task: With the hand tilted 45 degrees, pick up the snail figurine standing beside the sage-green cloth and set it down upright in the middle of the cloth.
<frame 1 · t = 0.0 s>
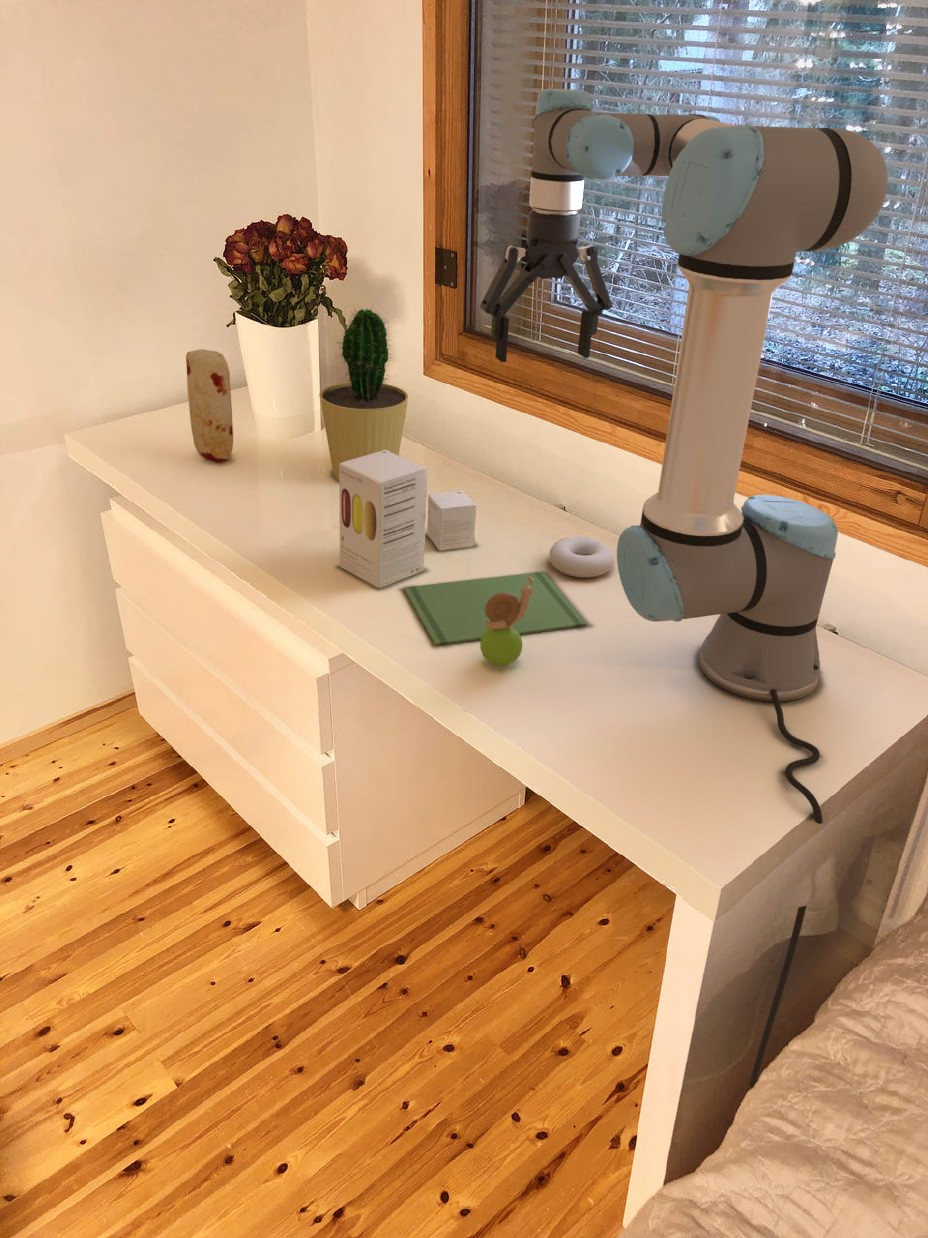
hand: (542, 357, 159), 28 cm above the table, tool pointing down, fingers open, 13 cm apart
potted cactus: (364, 474, 189), on the table
snail figurine: (503, 663, 136), on the table
donut: (580, 567, 161), on the table
supplement box: (381, 570, 157), on the table
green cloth: (493, 607, 148), on the table
food model: (215, 459, 192), on the table
product box: (450, 542, 167), on the table
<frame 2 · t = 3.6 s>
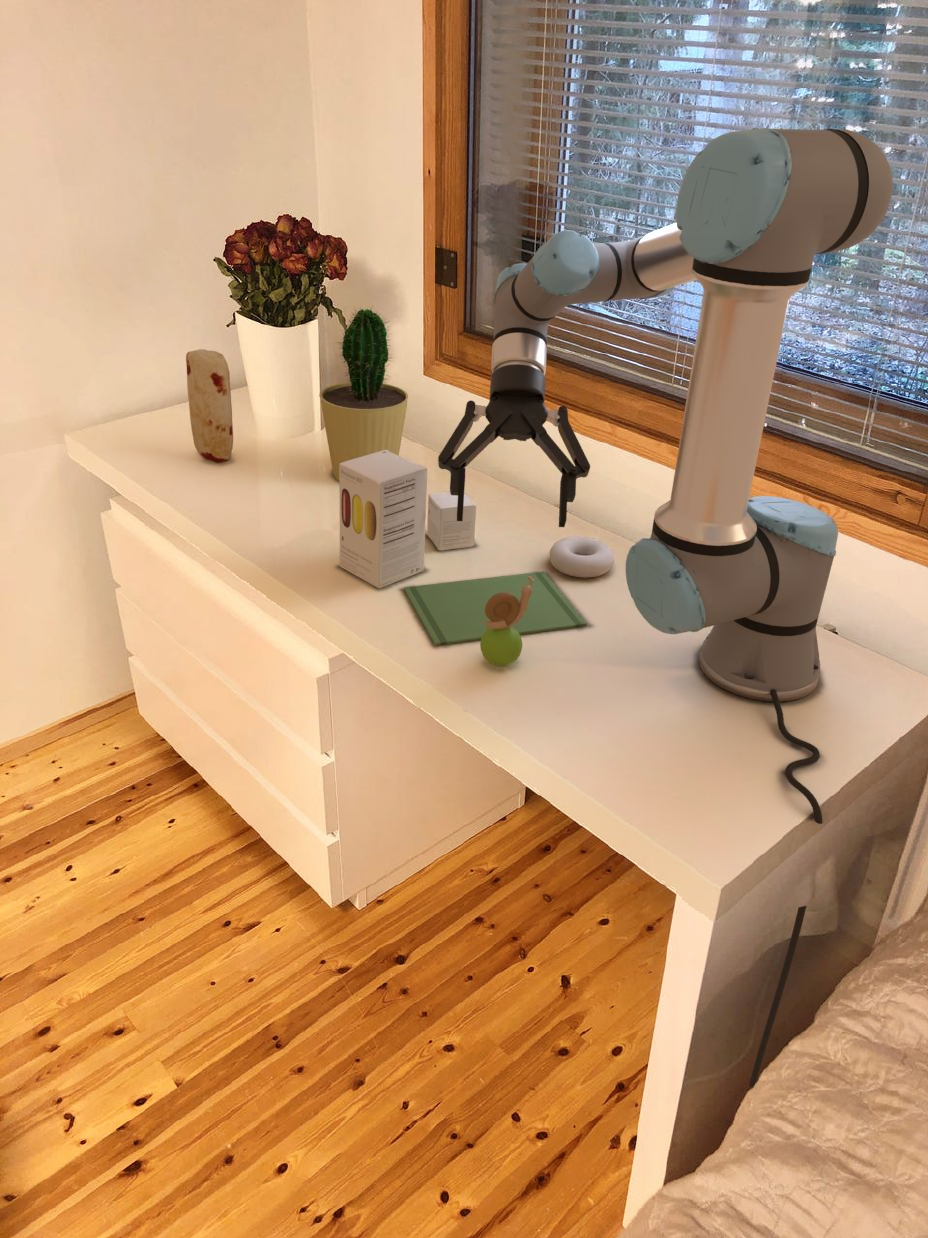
hand: (511, 521, 138), 15 cm above the table, tool tilted 45°, fingers open, 13 cm apart
nothing on the table moved.
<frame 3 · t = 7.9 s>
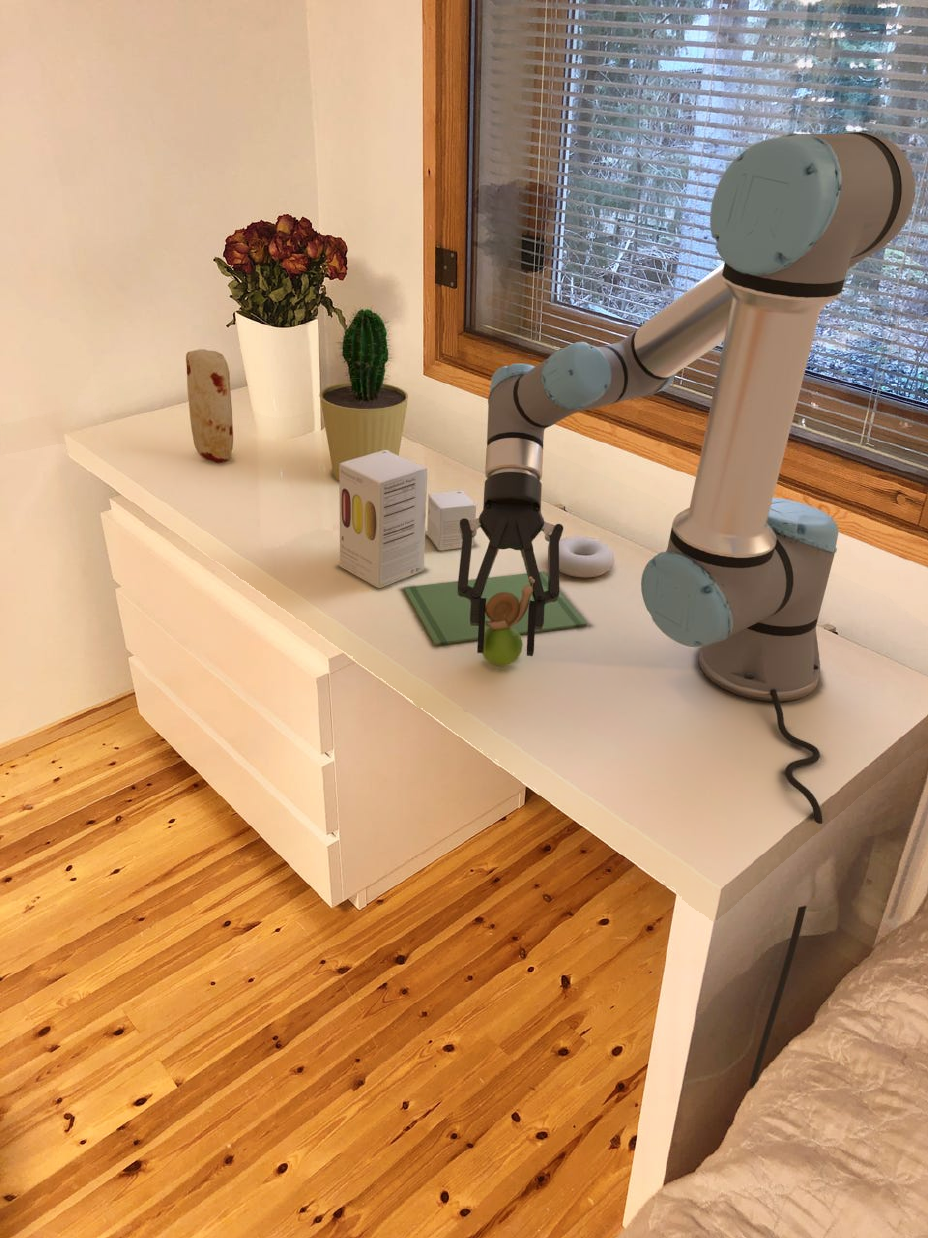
hand: (505, 651, 131), 4 cm above the table, tool tilted 45°, fingers closed on snail figurine, 6 cm apart
snail figurine: (503, 663, 136), on the table, touching gripper
everything else where it was.
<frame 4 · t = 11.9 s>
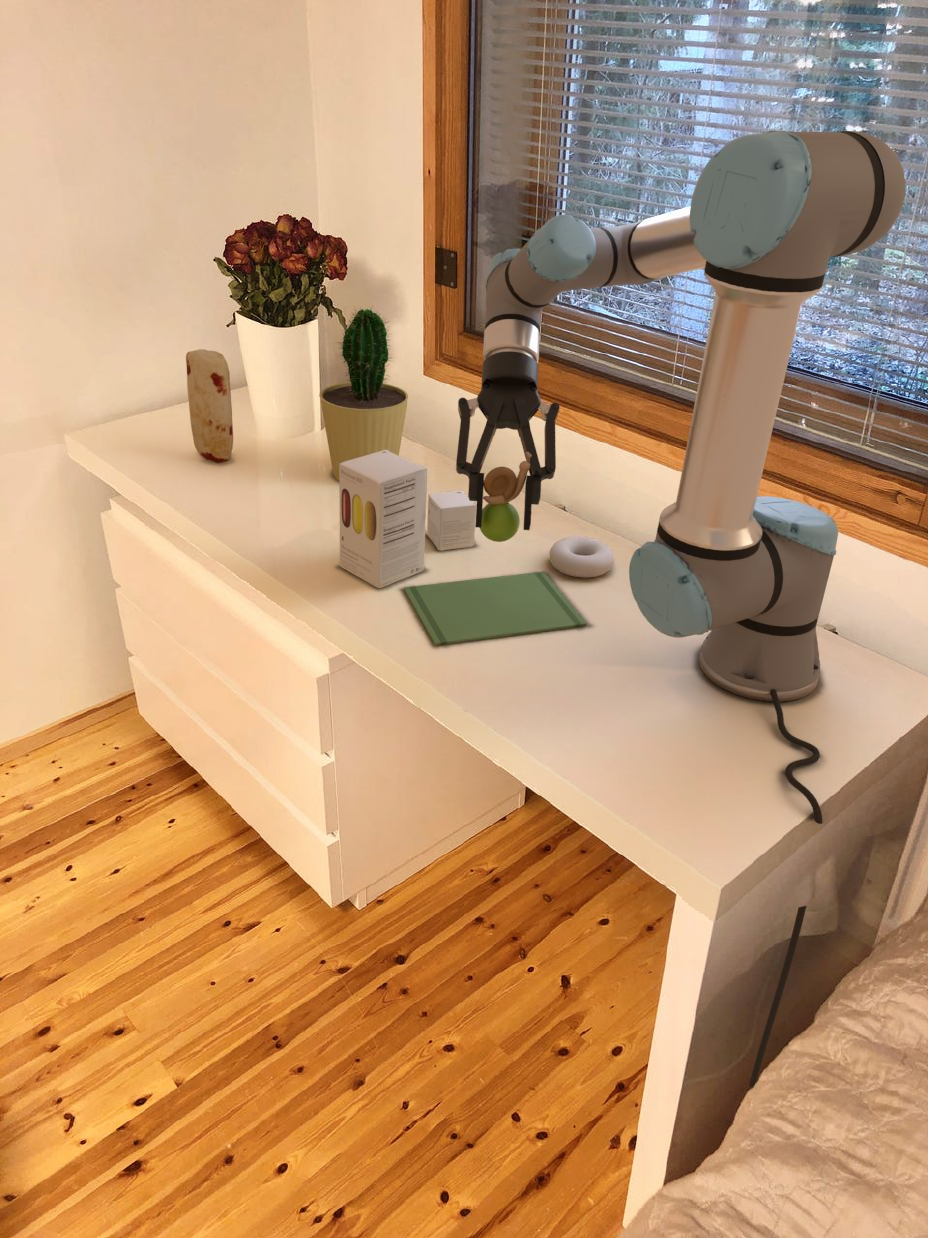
hand: (502, 524, 134), 16 cm above the table, tool tilted 45°, fingers closed on snail figurine, 6 cm apart
snail figurine: (500, 540, 139), point 12 cm above the table, touching gripper
everything else where it was.
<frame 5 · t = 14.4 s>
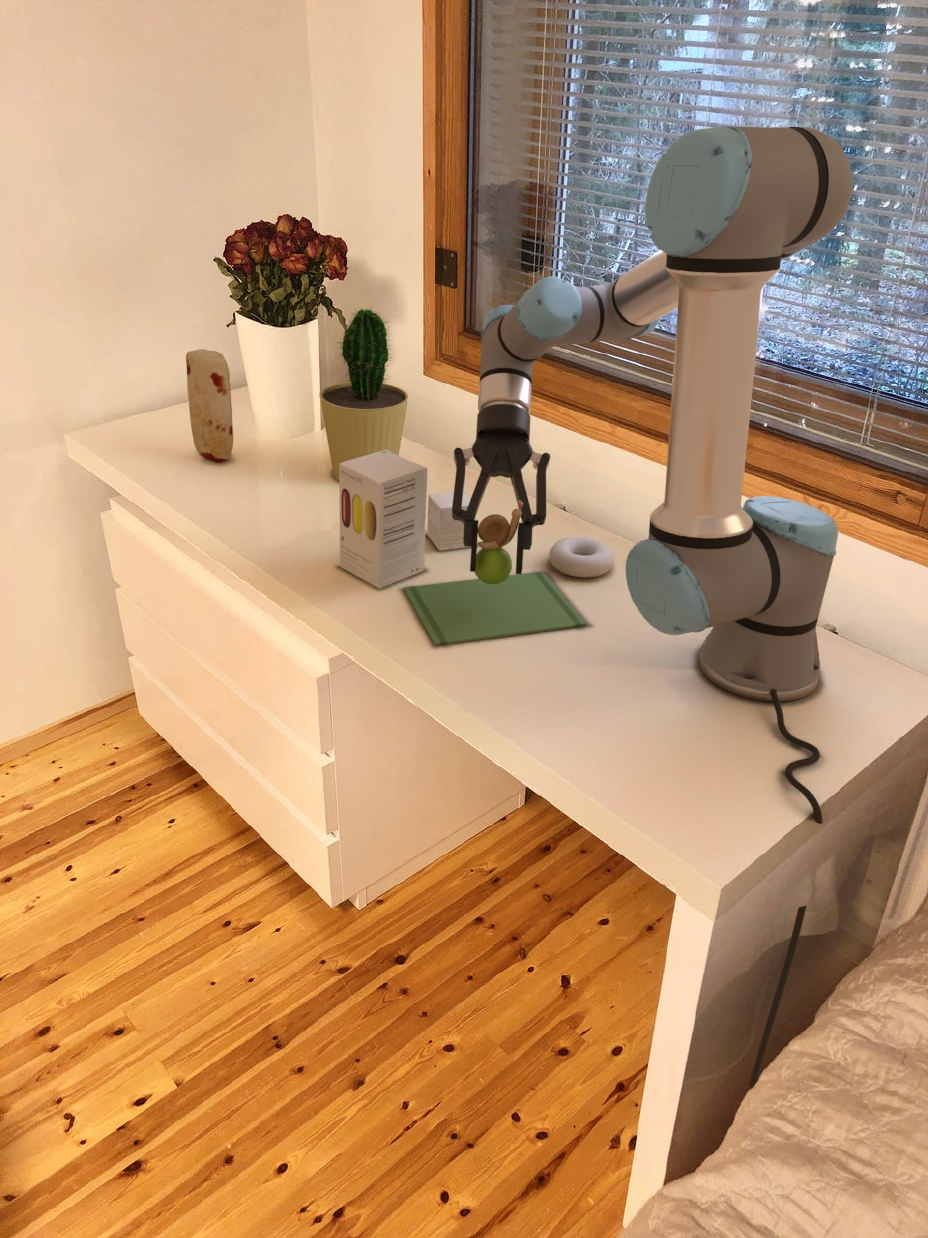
hand: (496, 569, 141), 8 cm above the table, tool tilted 45°, fingers closed on snail figurine, 6 cm apart
snail figurine: (494, 582, 147), point 4 cm above the table, touching gripper
everything else where it was.
when the fingers open (4 cm above the table, at t = 15.9 s): snail figurine stays where it is, resting on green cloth.
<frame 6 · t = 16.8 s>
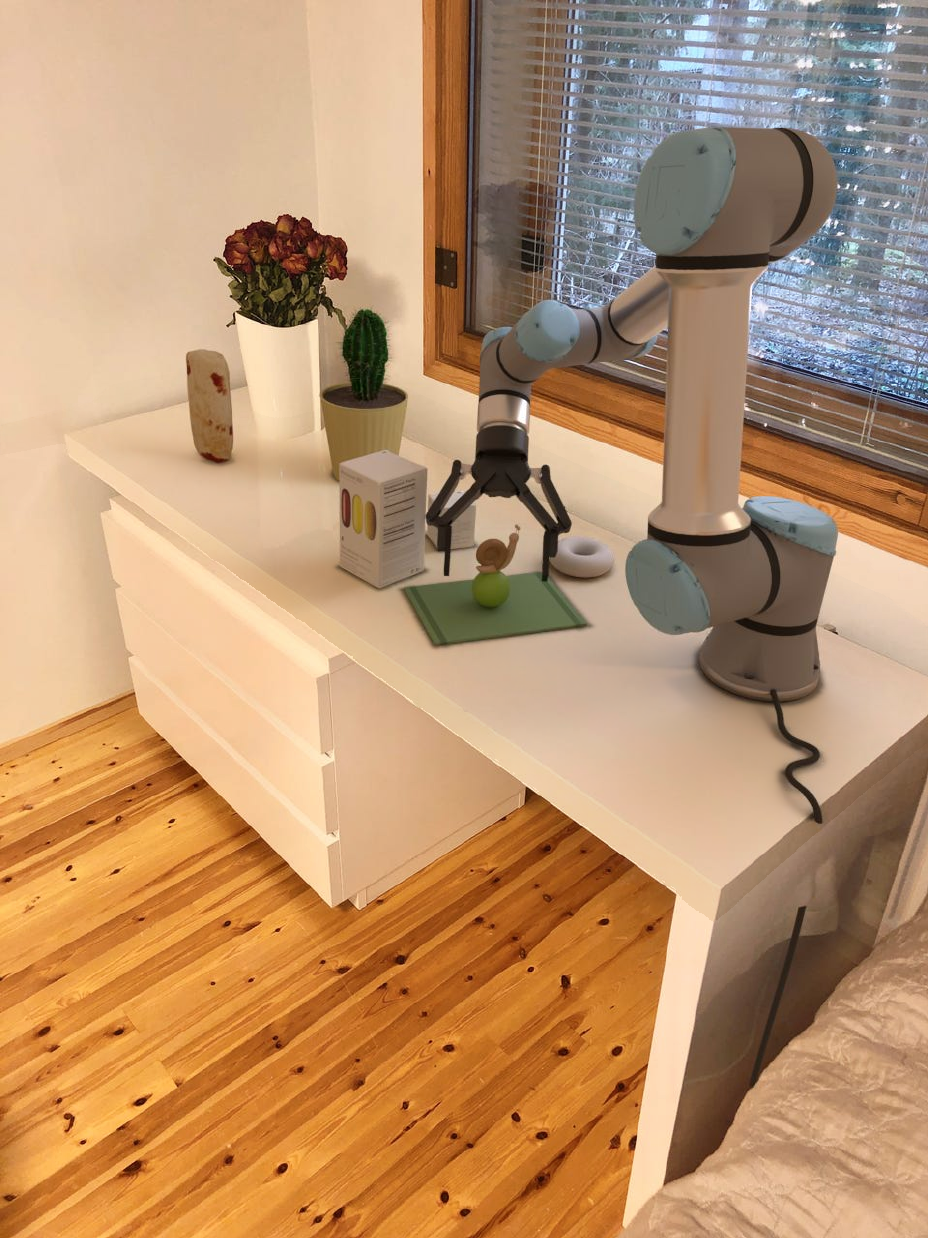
hand: (495, 576, 143), 6 cm above the table, tool tilted 45°, fingers open, 13 cm apart
snail figurine: (492, 605, 148), resting on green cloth
everything else where it was.
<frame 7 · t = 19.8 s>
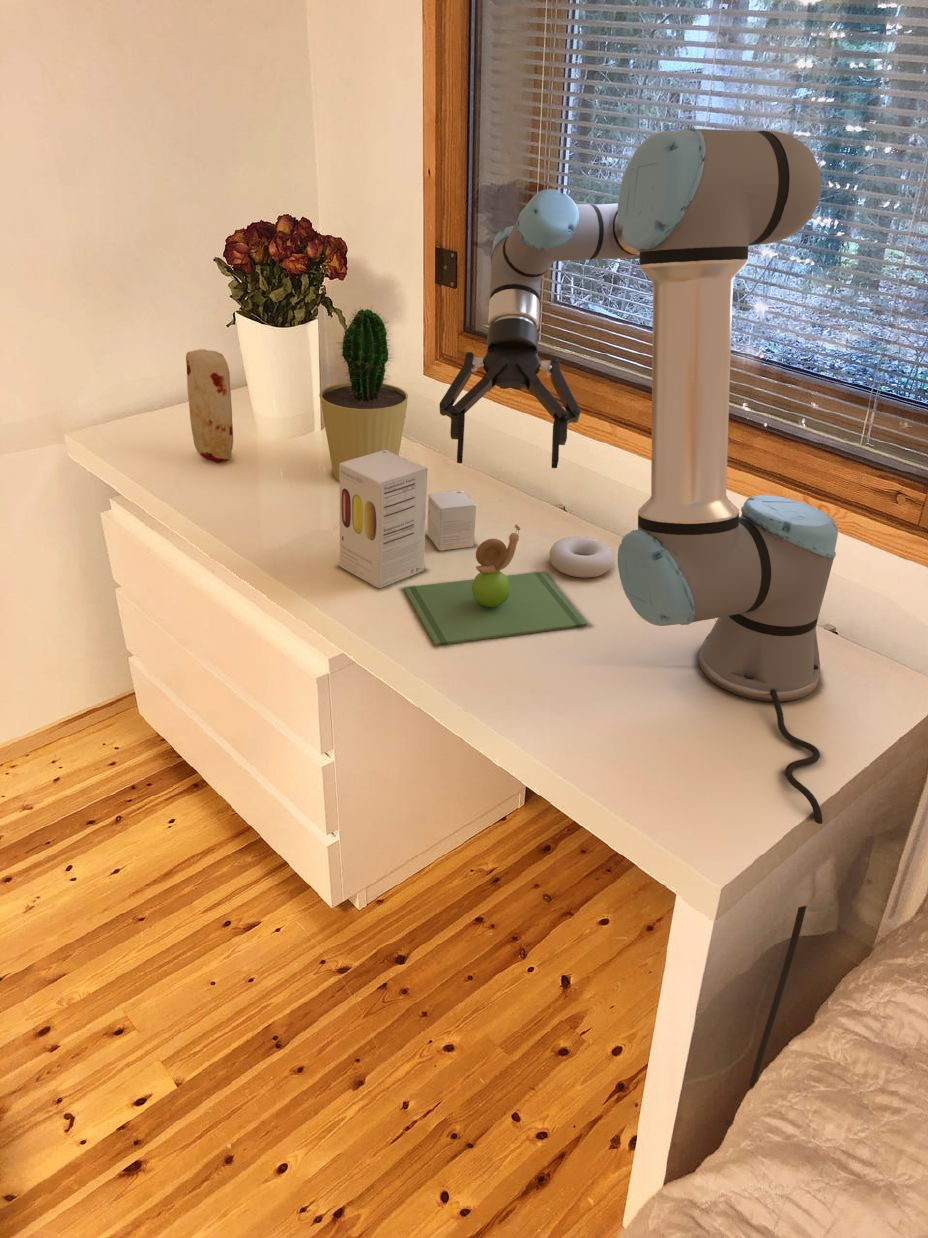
hand: (507, 462, 148), 18 cm above the table, tool tilted 45°, fingers open, 13 cm apart
nothing on the table moved.
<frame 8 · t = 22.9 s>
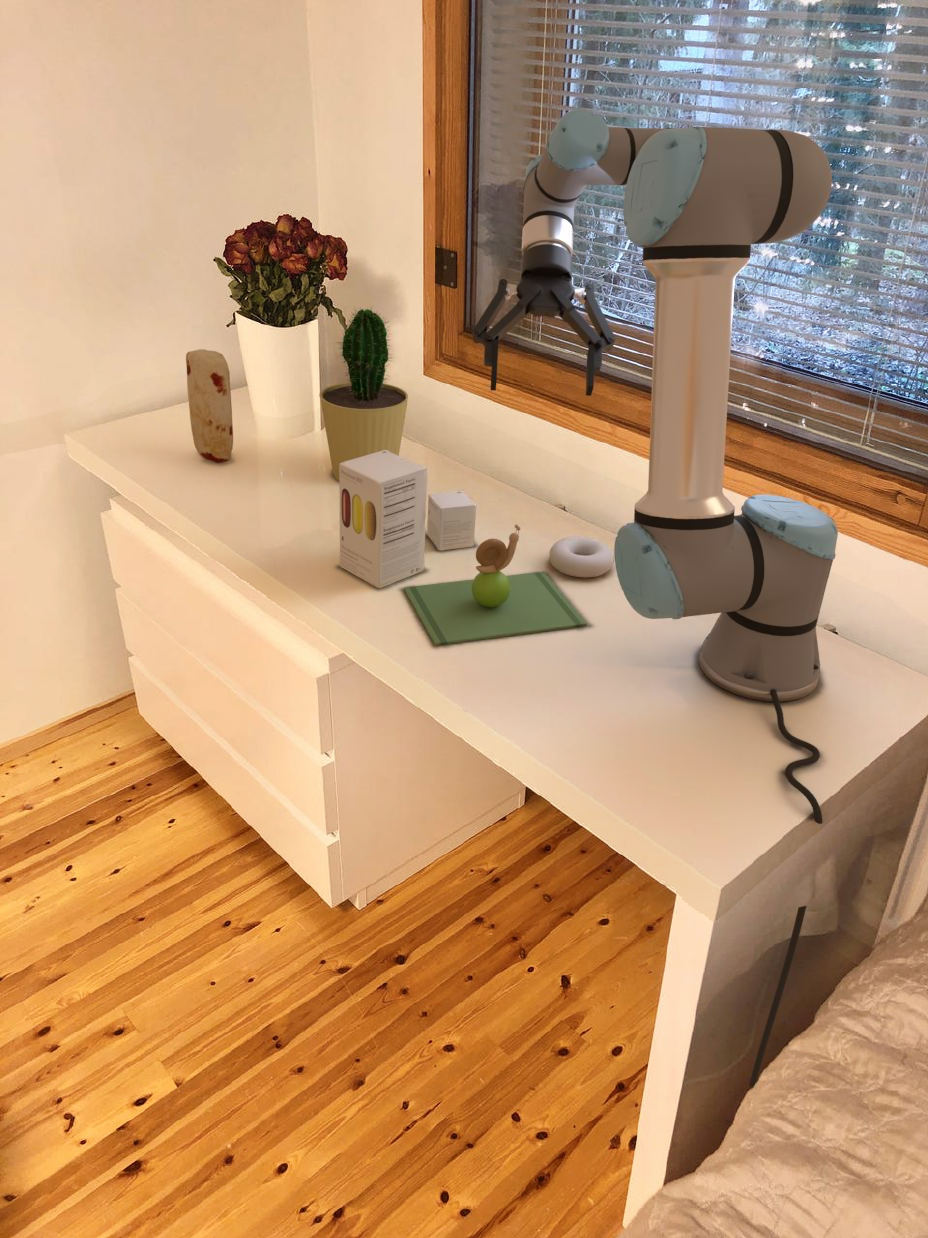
hand: (541, 388, 147), 28 cm above the table, tool tilted 45°, fingers open, 13 cm apart
nothing on the table moved.
at the end: snail figurine inside the target area on the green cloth (0.1 cm from its centre), point 0.2 cm above the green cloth's base; snail figurine tilted 0°; the gripper is holding nothing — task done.
